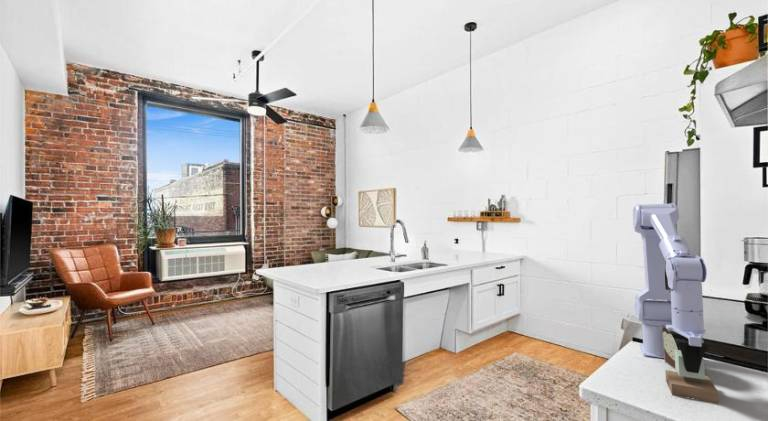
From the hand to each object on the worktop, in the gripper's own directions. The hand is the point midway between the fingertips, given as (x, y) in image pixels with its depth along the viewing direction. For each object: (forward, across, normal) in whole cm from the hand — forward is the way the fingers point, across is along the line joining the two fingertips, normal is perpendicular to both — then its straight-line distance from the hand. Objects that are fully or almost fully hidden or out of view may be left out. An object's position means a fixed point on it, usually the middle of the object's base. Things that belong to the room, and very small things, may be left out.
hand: (689, 367), depth 84 cm
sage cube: (+1, 0, 0) cm, 1 cm away
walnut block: (+6, 0, 0) cm, 6 cm away
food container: (+6, -14, +2) cm, 15 cm away
